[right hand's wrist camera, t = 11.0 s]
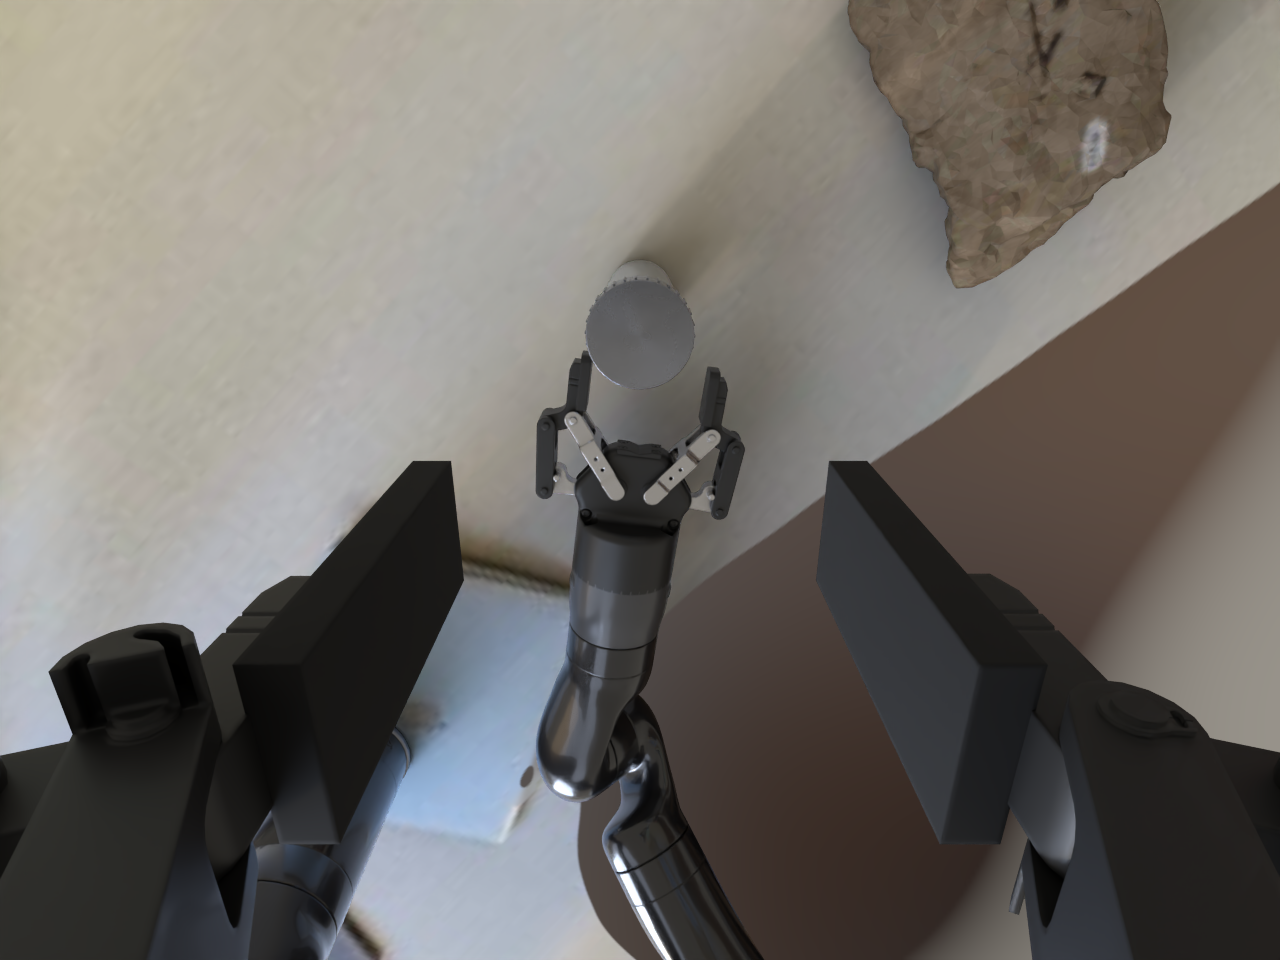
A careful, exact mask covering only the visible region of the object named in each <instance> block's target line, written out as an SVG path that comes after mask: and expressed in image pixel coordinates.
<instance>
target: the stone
mask: <svg viewBox="0 0 1280 960" xmlns="http://www.w3.org/2000/svg"><path fill="white" fill-rule="evenodd" d="M848 15H849V20H850V26H851V28H852V30H853V32H854V34H855V35H856V37H857V38H858V41H859V42H860V43H861V44H862V45H863V46H864V47H865V48H866V49H867V50H868V51H869V52H870V62H869V63H870V66H871V69H872V74H873V79H874V82H875V84H876V85H877V87H878V88H879V90H880V91H881V93H883V94H884V95H885V96H886V97H887V98H888V100H889V102H890V104H891V106H892V108H893V109H894V111H895V112H896V114H897V115H898V116H899V117H901V118H902V120H903V127H904V129H905V130H906V131H907V133H908V134H909V142H910V146H911V150H912V158H913V161H914V162H915V164H916V166H917V167H919V168H927V169H928V170H930V171H931V172H932V173H933V180H934V182H935V183H936V184H937V186H938V188H939V193H940V196H941V197H942V198H943V199H945V201H946V203H947V205H948V206H949V210H948V216H947V218H946V220H945V229H946V235H947V238H948V240H949V245H950V247H949V250H948V260H947V261H946V268H947V272H948V274H949V276H950V277H951V279H952V282H953V284H954V286H955V287H956V288H969V287H974V286H976V285H978V284H980V283H983V282H986V281H988V280H991V279H993V278H995V277H997V276H998V275H999V274H1001V273H1002V272H1004V271H1005V270H1007V269H1009V268H1011V267H1013V266H1014V265H1015V264H1017V263H1018V262H1020V261H1021V260H1022V259H1023V258H1025V257H1026V256H1027V255H1028V254H1029V253H1030V252H1031V251H1032V250H1033V249H1035V248H1037V247H1039V246H1041V245H1043V244H1044V243H1045V242H1046V241H1047V240H1048V239H1049V238H1050V237H1052V236H1053V235H1055V234H1056V232H1057V231H1058V230H1059V229H1060V228H1061V226H1062V225H1063V224H1064V223H1065V222H1066V221H1068V220H1069V219H1070V218H1072V217H1073V216H1074V215H1075V214H1076V213H1077V212H1078V211H1080V210H1081V209H1083V208H1084V207H1086V206H1087V205H1088V204H1089V203H1090V202H1091V200H1092V199H1093V196H1094V193H1095V192H1096V191H1098V189H1099V188H1100V187H1101V186H1103V185H1104V184H1106V183H1107V182H1109V181H1110V180H1111V179H1112V178H1121V177H1124V176H1125V174H1126V173H1127V172H1128V170H1130V169H1132V168H1134V167H1135V166H1136V165H1138V164H1139V163H1141V162H1142V161H1144V160H1145V159H1147V158H1149V157H1151V156H1152V155H1154V154H1156V153H1157V152H1158V151H1159V150H1160V149H1161V148H1162V146H1163V145H1164V144H1165V143H1166V138H1167V134H1168V129H1169V125H1170V121H1171V115H1170V114H1169V113H1168V112H1167V111H1166V109H1165V106H1164V103H1163V91H1164V84H1165V81H1166V78H1167V76H1168V71H1167V68H1166V66H1167V57H1168V46H1167V36H1166V31H1165V26H1164V22H1163V17H1162V14H1161V10H1160V7H1159V3H1158V2H1157V1H1156V0H849V5H848Z"/></svg>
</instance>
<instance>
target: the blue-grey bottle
mask: <svg viewBox="0 0 1280 960" xmlns="http://www.w3.org/2000/svg"><path fill="white" fill-rule="evenodd" d="M635 274H637V276H646V275H649V277H653V278H656V279H657V277H658V278H660V280H661V281H663V282H665V283H669V284H670V286H671V287H672V288H673V286H672V283H671V281H670V279H669V277H668V275H667V274H666V272H665V271H664V270H663V269H662V268H661V267H660V266H658V265H657V264H655V263H653V262H650V261H647V260H633V261H630V262H627V263H625V264H623V265H622V266H620V267H619V268H618V269H617V270H616V271H615V272H614V274H613V275H612V277H611V279H610V281H609V283H608V286H607V287H609V286H610V285H612V284H613V282H614V281H616V282H617V281H619V280H621V279H624V277H625V276H626V278H627V277H631V276H635Z"/></svg>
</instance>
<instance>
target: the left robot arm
mask: <svg viewBox="0 0 1280 960" xmlns="http://www.w3.org/2000/svg"><path fill="white" fill-rule="evenodd" d="M592 363H593V361H592V359H591V357H590V355H589V352H588V351H583V353H582V358H581V359H578V358H575V360H574V361H573V363H572V365H571V368H570V372H569V382H568V393H567V403H566V404H565V405H564V406H562V407H559V408H554V409H553V408H546V409H545V410H544V411H543V412H542V414H541V416H540V419H539V421H538V423H537V452H536V494H537V495H538V496H539V497H540V498H542V499H547V498H549V497H551V496H552V494H553V493H557V494H573V495H575V497H576V499H577V501H578V505H579V510H578V519H577V528H576V537H575V546H574V555H573V564H572V572H571V575H570V593H569V602H570V621H569V630H568V638H567V648H566V659H565V662H564V664H563V667H562V669H561V671H560V673H559V675H558V677H557V679H556V681H555V684H554V686H553V689H552V692H551V694H550V697H549V699H548V702H547V704H546V707H545V709H544V712H543V715H542V718H541V721H540V724H539V728H538V732H537V738H536V758H537V763H538V767H539V771H540V774H541V776H542V778H543V780H544V782H545V784H546V785H547V786H548V788H549V789H550V790H551V791H552V792H553V793H554V794H555V795H556V796H558V797H560V798H561V799H563V800H565V801H569V802H584V801H588V800H590V799H592V798H594V797H596V796H598V795H599V794H601V793H602V792H603V791H605V790H606V789H607V788H609V787H610V786H611V785H613V784H614V783H615V782H616V781H618V780H619V784H620V790H621V803H620V806H619V808H618V810H617V812H616V813H615V815H614V816H613V817H612V819H611V820H610V822H609V823H608V825H607V826H606V828H605V830H604V832H603V836H602V843H603V847H604V850H605V853H606V855H607V858H608V860H609V862H610V864H611V866H612V868H613V870H614V871H615V874H616V876H617V878H618V880H619V882H620V884H621V886H622V888H623V890H624V892H625V894H626V896H627V898H628V901H629V902H630V904H631V906H632V908H633V910H634V912H635V914H636V916H637V918H638V920H639V922H640V923H641V925H642V927H643V929H644V930H645V932H646V934H647V936H648V937H649V939H650V941H651V942H652V944H653V945H654V947H655V948H656V950H657V951H658V953H659V954H660V956H661V957H662V959H663V960H764V959H763V957H762V956H761V954H760V952H759V951H758V949H757V947H756V946H755V944H754V943H753V941H752V939H751V938H750V936H749V934H748V933H747V931H746V929H745V928H744V926H743V924H742V923H741V921H740V919H739V917H738V916H737V914H736V912H735V910H734V909H733V907H732V905H731V903H730V901H729V900H728V898H727V896H726V894H725V892H724V891H723V889H722V887H721V885H720V883H719V881H718V879H717V877H716V876H715V874H714V872H713V870H712V868H711V866H710V864H709V862H708V860H707V858H706V856H705V854H704V853H703V851H702V849H701V847H700V845H699V843H698V841H697V839H696V837H695V835H694V834H693V832H692V830H691V828H690V826H689V824H688V822H687V820H686V818H685V816H684V815H683V813H682V811H681V809H680V806H679V802H678V798H677V794H676V790H675V785H674V781H673V777H672V773H671V770H670V766H669V762H668V758H667V754H666V750H665V745H664V742H663V738H662V734H661V731H660V728H659V725H658V722H657V720H656V718H655V716H654V714H653V712H652V710H651V709H650V707H649V706H648V704H647V703H646V702H645V701H644V700H643V699H642V697H640V696H639V695H638V694H639V693H640V692H641V691H642V690H643V689H644V687H645V686H646V684H647V682H648V679H649V677H650V674H651V670H652V666H653V660H654V654H655V648H656V642H657V636H658V631H659V627H660V623H661V620H662V617H663V615H664V611H665V608H666V604H667V598H668V597H669V594H670V590H671V583H670V581H671V575H672V570H673V564H674V558H675V552H676V547H677V541H678V535H679V530H680V524H681V520H682V518H683V516H684V514H685V513H686V512H687V511H688V510H689V509H694V510H700V511H705V512H711V514H712V516H713V517H714V518H715V519H718V520H720V519H724V518H725V517H726V516H727V514H728V511H729V507H730V503H731V500H732V496H733V492H734V489H735V485H736V481H737V478H738V474H739V470H740V466H741V463H742V459H743V455H744V452H745V448H744V445H743V443H742V442H741V438H740V436H739V434H738V433H737V432H735V431H730V430H728V429H726V428H724V427H723V426H722V425H721V424H722V418H723V413H724V407H725V402H726V397H727V391H728V389H727V384H726V381H725V379H724V377H720V371H719V369H718V368H715V367H708V368H707V372H706V378H705V383H704V389H703V395H702V401H701V406H700V412H699V419H700V423H701V424H700V425H699V426H698V427H697V428H695V429H694V430H693V431H692V432H691V433H690V434H689V435H688V436H687V437H685V438H682V439H681V440H680V441H679V442H678V443H677V444H675V445H674V446H673V447H672V448H671V449H670V450H669V451H667V450H665V449H663V448H661V445H656V444H644V445H637V444H635V443H632V442H630V441H625V440H618V442H615V443H612V444H608V443H607V441H606V439H605V438H604V436H603V434H602V433H601V431H600V430H599V428H598V427H596V426H595V424H594V423H593V421H592V419H591V418H590V416H589V415H588V413H587V411H586V410H587V405H588V400H589V391H590V381H591V372H592ZM567 428H568V429H569V431H570V432H571V434H572V435H573V437H574V439H575V440H576V442H577V443H578V445H579V448H580V451H581V453H582V455H583V456H584V458H585V459H586V461H587V462H588V465H587V466H586V467H585V468H584V469H583V470H582V471H581V472H580V473H579V474H578V476H577V477H576V478H573V477H571V476H570V475H569V474H568V472H567V467H566V466H565V465H564V464H563V463H561V462H557V451H558V430H562V429H567ZM714 447H716V448H718V449H720V453H719V456H718V460H717V464H716V468H715V472H714V476H713V480H712V481H707V482H705V483H704V484H703V485H702V487H701V489H700V490H699V491H697V492H695V493H691V491H690V488H689V486H688V485H687V483H686V481H685V479H684V478H685V477H686V476H687V475H688V474H689V473H690V472H691V471H692V470H693V469H694V468H695V467H696V466H697V465H698V464H699V461H700V460H701V459H702V458H703V457H704V456H705V455H706V454H707V453H709V452H710V451H711V450H712V449H713V448H714ZM677 454H679V455H677ZM680 468H681V469H680ZM409 764H410V750H409V746H408V744H407V742H406V740H405V738H404V737H403V735H402V734H401V733H400V732H399V731H398V730H397V729H396V728H394V730H393V732H392V734H391V736H390V739H389V741H388V743H387V745H386V747H385V749H384V751H383V753H382V756H381V758H380V760H379V762H378V764H377V766H376V768H375V770H374V773H373V775H372V777H371V779H370V781H369V783H368V785H367V787H366V790H365V792H364V794H363V796H362V798H361V800H360V802H359V805H358V807H357V809H356V811H355V813H354V815H353V817H352V819H351V822H350V824H349V826H348V828H347V830H346V832H345V834H344V836H343V839H342V841H341V843H340V844H280V843H279V840H278V836H277V832H276V828H275V825H274V821H273V817H272V813H271V811H270V812H269V814H268V816H267V817H266V819H265V820H264V822H263V824H262V825H261V827H260V829H259V830H258V832H257V834H256V835H255V837H254V838H253V843H254V847H255V850H256V854H257V860H258V866H259V870H258V878H257V887H256V895H255V904H254V912H253V920H252V929H251V937H250V945H249V954H248V960H328V958H329V955H330V953H331V950H332V948H333V945H334V943H335V940H336V938H337V935H338V933H339V931H340V928H341V926H342V923H343V921H344V919H345V916H346V914H347V911H348V909H349V906H350V904H351V901H352V899H353V896H354V894H355V891H356V889H357V887H358V884H359V882H360V879H361V877H362V875H363V872H364V870H365V867H366V865H367V863H368V860H369V858H370V855H371V853H372V851H373V848H374V846H375V843H376V841H377V839H378V836H379V834H380V831H381V829H382V827H383V824H384V822H385V819H386V817H387V814H388V812H389V810H390V807H391V805H392V802H393V800H394V798H395V796H396V793H397V791H398V788H399V786H400V784H401V781H402V779H403V778H404V776H405V774H406V772H407V769H408V767H409Z"/></svg>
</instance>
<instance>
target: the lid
mask: <svg viewBox="0 0 1280 960" xmlns="http://www.w3.org/2000/svg"><path fill="white" fill-rule="evenodd" d="M595 301H596V302H595V304H594V305H592V306H591V308H590V312H591V313H590V315H589V316H588V318H587V320H586V322H587V326H586V330H585V334H586V345H587V348H588V352H589V355H590V357H591V359H592V361H593V363H594V364H595V366H596V367H597V369H598V370H599V371H600V372H601V373H602V374H603V375H604V376H605V377H606V378H608V379H609V380H611V381H612V382H614V383H616V384H618V385H620V386H623V387H626V388H631V389H649V388H654V387H657V386H660V385H662V384H664V383H666V382H668V381H669V380H671V379H672V378H674V377H675V376H676V375H677V374H678V373H679V372H680V371H681V370H682V369H683V367H684V366H685V364H686V363H687V361H688V359H689V357H690V355H691V352H692V349H693V344H694V338H695V334H694V326H695V324H694V322H693V320H692V318H691V315H692V313H691V311H690V309H689V308H687V306H686V304H687V303H686V301H685V299H684V298H683V299H682V297H681V296H680V294H679V292H678V290H677V289H676V290H675V289H674V288H672V287H671V286H670V284H669V283H665V282H663V281H661V280H660V278H658V277H657V279H656V278H653V277H649V275H646V276H637V274H635V276H631V277H627V278H626V276H625V277H624V279H621V280H619V281H617V282H616V281H614V282H613V284H612V285H610V286H609V287H605V288H604V291H603V292H602V293H601V295H600V296H599V295H598V296H597V298H596V300H595Z"/></svg>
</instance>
